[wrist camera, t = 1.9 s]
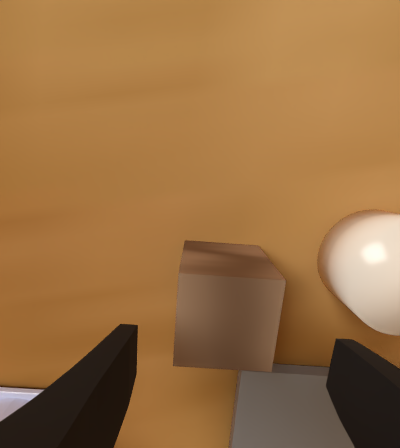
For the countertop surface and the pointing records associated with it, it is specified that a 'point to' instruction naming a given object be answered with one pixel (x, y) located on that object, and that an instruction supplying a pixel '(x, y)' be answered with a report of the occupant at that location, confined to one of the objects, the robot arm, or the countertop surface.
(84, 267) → the countertop surface
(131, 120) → the countertop surface
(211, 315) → the walnut block
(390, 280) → the cream egg shape
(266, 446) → the plate
